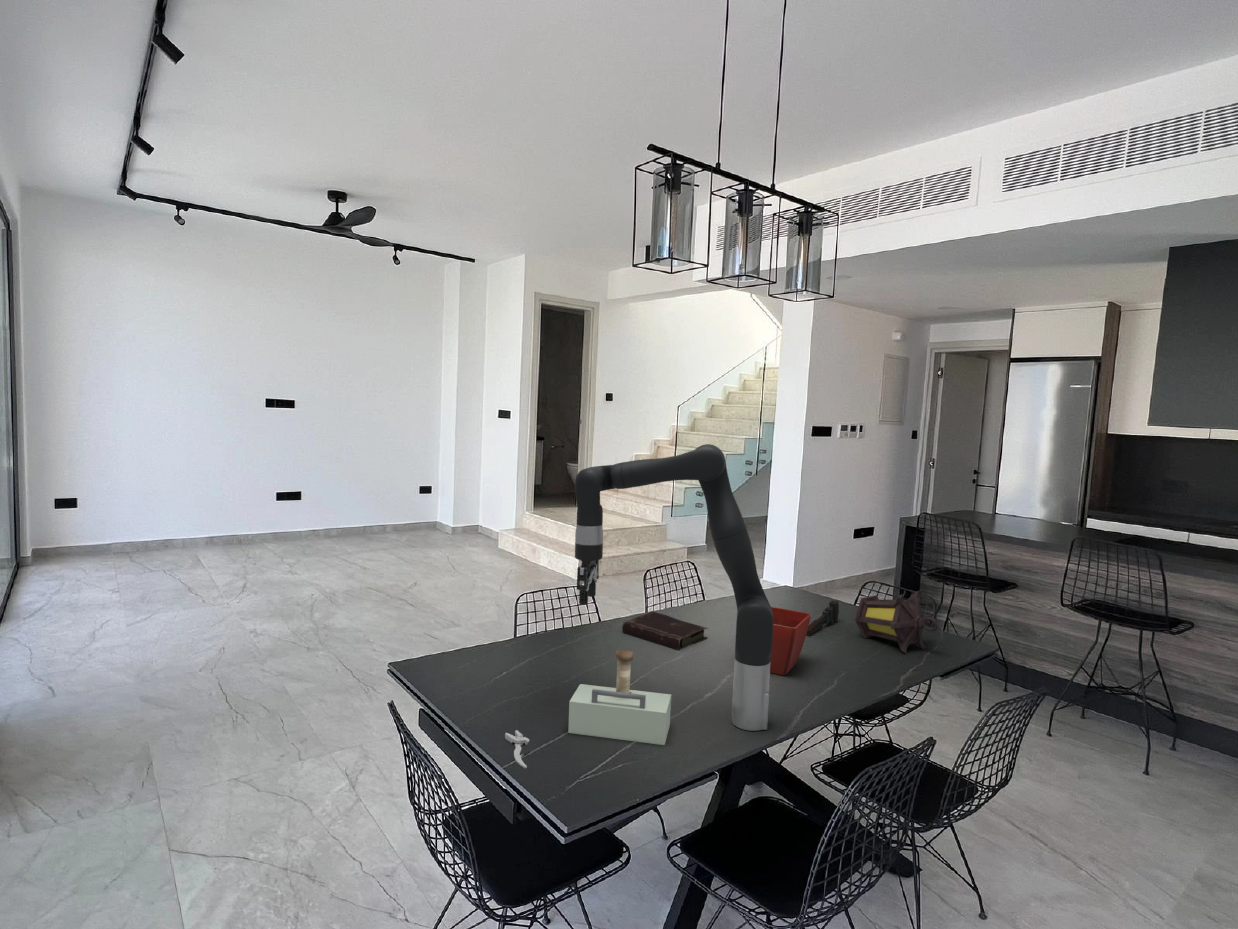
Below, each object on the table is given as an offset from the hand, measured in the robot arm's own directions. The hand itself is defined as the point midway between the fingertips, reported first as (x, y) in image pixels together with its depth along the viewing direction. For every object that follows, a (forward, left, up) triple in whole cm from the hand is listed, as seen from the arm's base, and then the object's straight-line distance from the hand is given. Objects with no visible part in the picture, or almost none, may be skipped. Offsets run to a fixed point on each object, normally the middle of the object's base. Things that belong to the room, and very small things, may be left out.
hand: (587, 600), depth 188 cm
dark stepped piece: (-72, -89, -30) cm, 118 cm away
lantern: (-97, -78, -29) cm, 128 cm away
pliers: (+7, +28, -30) cm, 41 cm away
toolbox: (-13, +14, -29) cm, 35 cm away
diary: (-15, -63, -30) cm, 71 cm away
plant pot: (-52, -44, -29) cm, 74 cm away
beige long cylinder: (-13, +12, -28) cm, 33 cm away
